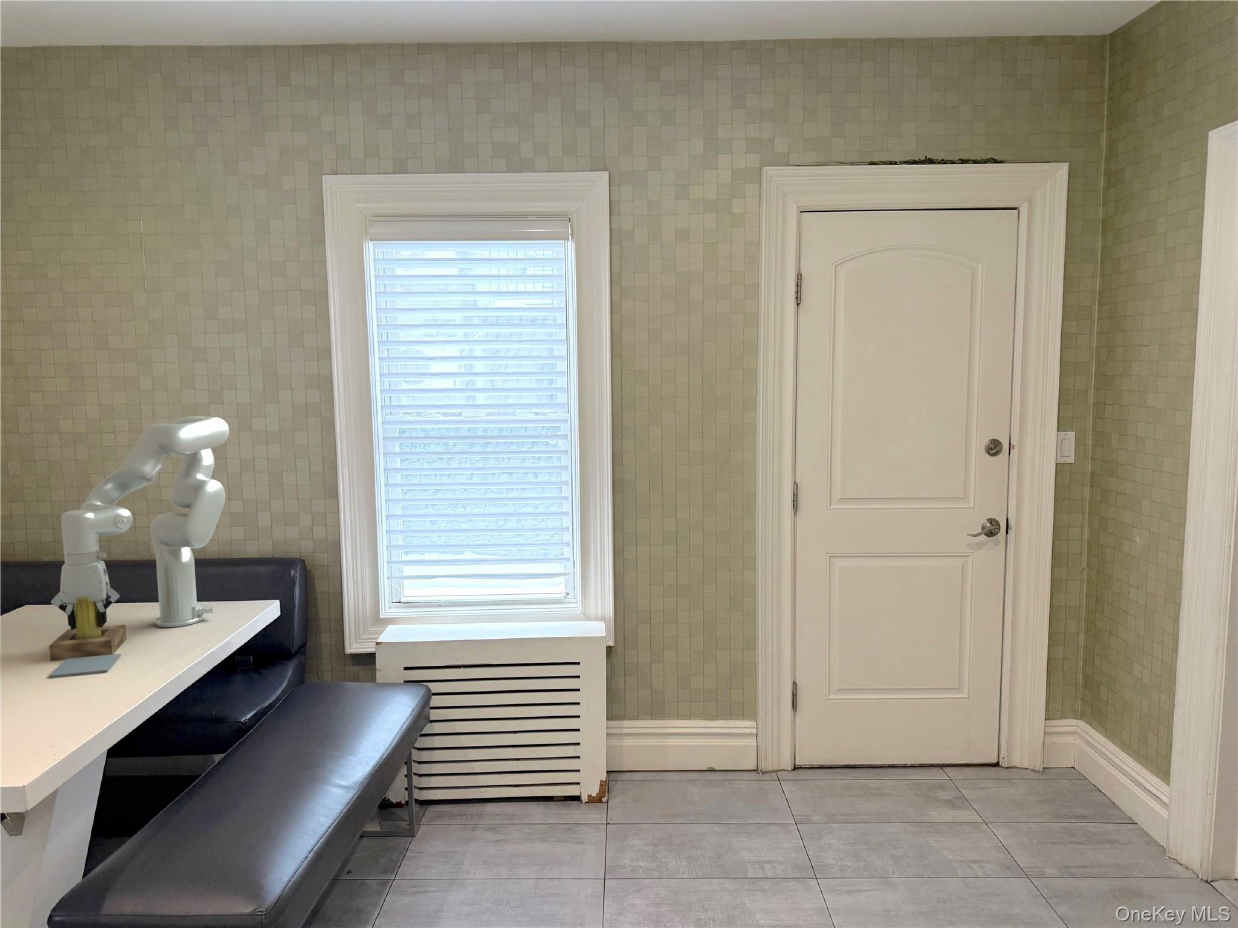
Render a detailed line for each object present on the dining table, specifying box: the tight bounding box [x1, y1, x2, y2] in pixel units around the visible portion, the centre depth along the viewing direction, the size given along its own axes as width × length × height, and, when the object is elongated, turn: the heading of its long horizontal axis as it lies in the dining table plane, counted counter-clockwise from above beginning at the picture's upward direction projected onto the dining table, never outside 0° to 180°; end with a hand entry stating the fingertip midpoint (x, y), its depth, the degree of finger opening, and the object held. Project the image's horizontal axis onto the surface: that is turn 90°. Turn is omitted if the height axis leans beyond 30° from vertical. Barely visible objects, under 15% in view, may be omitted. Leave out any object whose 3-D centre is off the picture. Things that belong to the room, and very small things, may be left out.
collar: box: [48, 624, 127, 662], centre depth 211 cm, size 14×14×4 cm
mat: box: [48, 653, 122, 679], centre depth 199 cm, size 12×12×1 cm
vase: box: [74, 597, 102, 640], centre depth 211 cm, size 6×6×14 cm
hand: (88, 626), depth 211 cm, fingers closed on vase, 5 cm apart
